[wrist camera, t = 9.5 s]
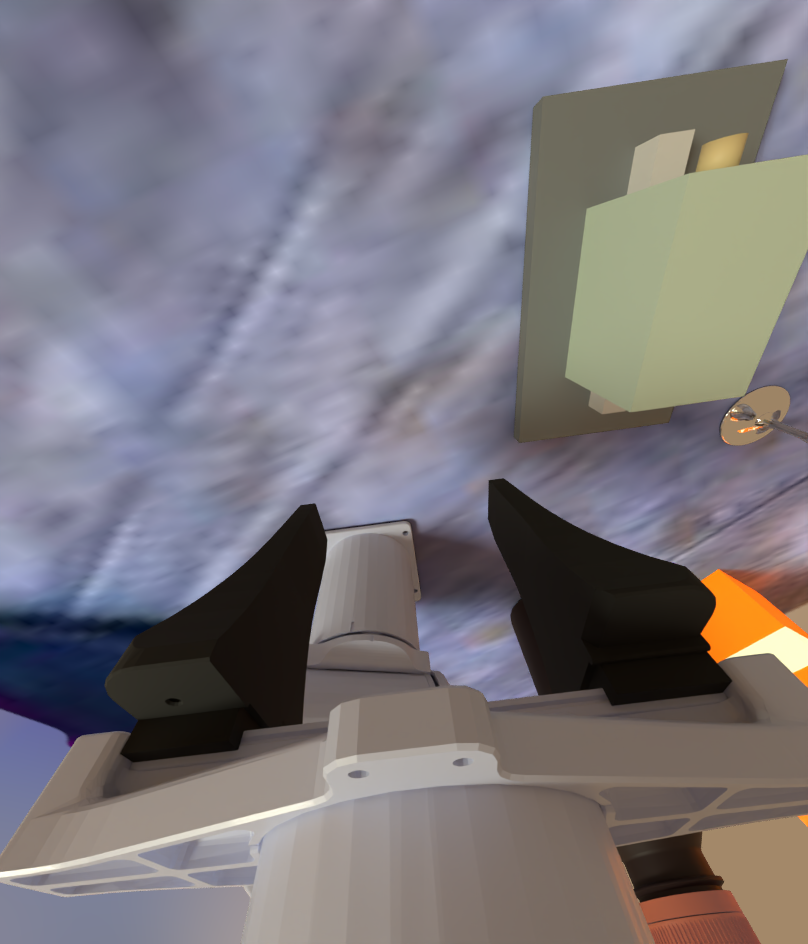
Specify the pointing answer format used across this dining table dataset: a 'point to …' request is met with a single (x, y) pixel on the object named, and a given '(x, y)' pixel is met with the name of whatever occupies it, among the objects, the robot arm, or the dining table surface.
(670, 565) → the robot arm
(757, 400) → the wineglass
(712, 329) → the cabinet block
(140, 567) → the dining table surface
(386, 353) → the dining table surface
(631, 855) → the bottle
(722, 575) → the orange juice
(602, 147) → the cleat board
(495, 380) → the dining table surface
